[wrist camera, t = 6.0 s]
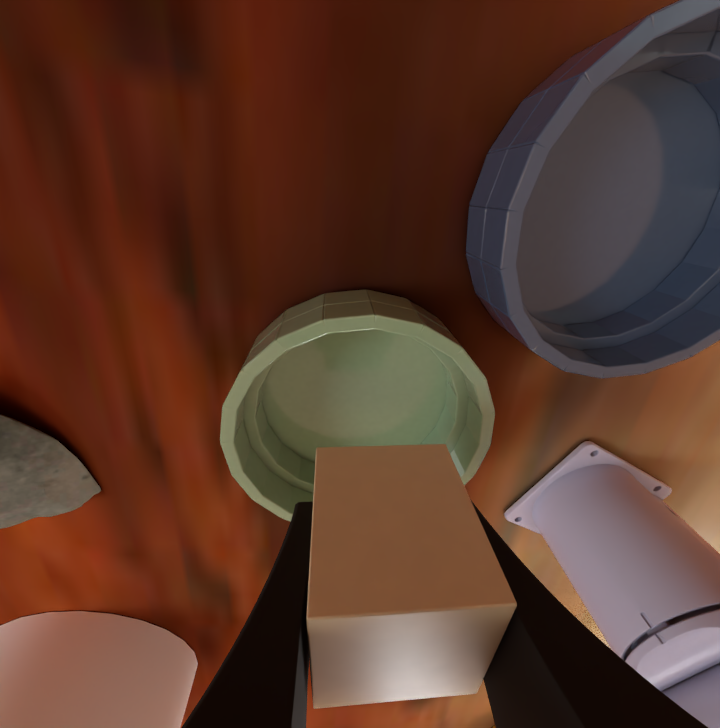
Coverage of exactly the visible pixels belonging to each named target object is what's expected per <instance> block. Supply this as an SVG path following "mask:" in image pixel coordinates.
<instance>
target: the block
mask: <svg viewBox="0 0 720 728" xmlns="http://www.w3.org/2000/svg"><path fill="white" fill-rule="evenodd" d="M516 607H517V602H516V600H515V598H514V596H513V593H512V591H511V589H510V587H509V584H508V582H507V580H506V578H505V576H504V573H503V571H502V569H501V567H500V564H499V562H498V560H497V558H496V555H495V553H494V551H493V549H492V547H491V544H490V542H489V540H488V538H487V535H486V533H485V531H484V529H483V527H482V524H481V522H480V520H479V518H478V515H477V513H476V511H475V509H474V507H473V504H472V502H471V500H470V498H469V495H468V493H467V491H466V489H465V486H464V484H463V482H462V480H461V478H460V475H459V473H458V471H457V469H456V466H455V464H454V462H453V460H452V458H451V455H450V453H449V451H448V449H447V446H446V445H445V444H427V445H390V446H353V447H318V448H316V458H315V476H314V493H313V511H312V528H311V546H310V563H309V581H308V599H307V616H306V620H307V632H308V645H309V658H310V671H311V684H312V697H313V707H314V708H315V709H316V708H326V707H337V706H348V705H359V704H370V703H380V702H391V701H402V700H413V699H424V698H434V697H445V696H456V695H467V694H476V693H477V691H478V689H479V687H480V685H481V683H482V681H483V678H484V676H485V674H486V672H487V670H488V668H489V665H490V663H491V661H492V659H493V657H494V654H495V652H496V650H497V648H498V646H499V644H500V641H501V639H502V637H503V635H504V633H505V631H506V628H507V626H508V624H509V622H510V620H511V617H512V615H513V613H514V611H515V609H516Z"/></svg>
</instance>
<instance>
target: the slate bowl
mask: <svg viewBox="0 0 720 728" xmlns="http://www.w3.org/2000/svg"><path fill="white" fill-rule="evenodd" d="M469 205H470V207H469V215H468V229H467V242H466V257H467V261H468V266H469V270H470V274H471V278H472V282H473V286H474V290H475V292H476V295H477V296H478V298H479V299H480V301H481V302H482V303H483V305H484V306H485V308H486V309H487V311H488V312H489V314H490V315H491V317H492V318H493V320H494V321H495V322H496V323H498V324H499V325H500V326H501V327H503V328H504V329H505V330H506V331H508V332H509V333H510V334H511V335H513V336H514V337H515V338H516V339H517V340H519V341H520V342H521V343H522V344H524V345H525V346H526V347H527V348H529V349H530V350H531V351H532V352H534V353H535V354H537V355H539V356H540V357H542V358H543V359H545V360H546V361H548V362H549V363H551V364H552V365H554V366H555V367H557V368H559V369H560V370H563V371H566V372H571V373H576V374H581V375H586V376H590V377H595V378H613V377H622V376H632V375H641V374H646V373H649V372H652V371H654V370H657V369H660V368H663V367H666V366H668V365H671V364H674V363H677V362H680V361H682V360H685V359H688V358H689V357H692V356H694V355H696V354H697V353H699V352H701V351H702V350H704V349H706V348H707V347H709V346H711V345H712V344H714V343H716V342H718V341H719V340H720V0H678V1H676V2H674V3H672V4H670V5H668V6H665V7H663V8H661V9H659V10H657V11H655V12H653V13H651V14H649V15H647V16H645V17H644V18H642V19H640V20H638V21H636V22H634V23H633V24H631V25H629V26H627V27H625V28H624V29H622V30H620V31H618V32H616V33H614V34H613V35H611V36H609V37H607V38H605V39H603V40H602V41H600V42H598V43H596V44H594V45H592V46H591V47H589V48H587V49H585V50H583V51H581V52H580V53H578V54H576V55H574V56H572V57H571V58H570V59H568V60H567V61H566V62H565V63H564V64H562V65H561V66H560V67H559V68H558V69H557V70H556V71H555V72H554V73H552V74H551V75H550V76H549V77H548V78H547V79H546V80H545V81H544V82H542V83H541V84H540V85H539V86H538V87H537V88H536V89H535V90H534V91H532V92H531V93H530V94H529V95H528V96H527V97H526V98H525V99H524V100H523V101H522V102H521V103H520V105H519V106H518V108H517V109H516V111H515V112H514V114H513V115H512V117H511V118H510V120H509V121H508V123H507V124H506V126H505V127H504V129H503V130H502V132H501V133H500V135H499V136H498V138H497V139H496V141H495V142H494V144H493V145H492V147H491V148H490V150H489V152H488V154H487V156H486V159H485V162H484V164H483V167H482V170H481V173H480V176H479V178H478V181H477V184H476V187H475V190H474V193H473V195H472V198H471V201H470V204H469Z"/></svg>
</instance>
